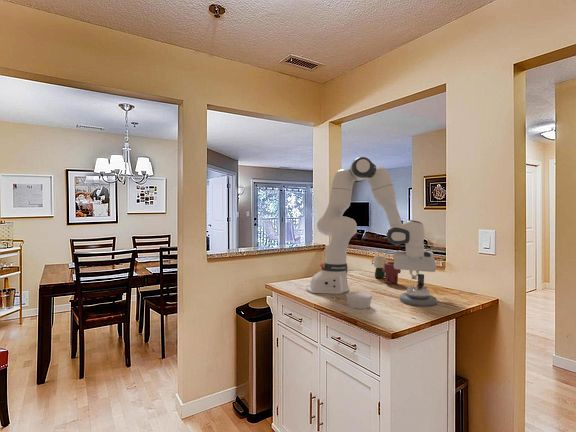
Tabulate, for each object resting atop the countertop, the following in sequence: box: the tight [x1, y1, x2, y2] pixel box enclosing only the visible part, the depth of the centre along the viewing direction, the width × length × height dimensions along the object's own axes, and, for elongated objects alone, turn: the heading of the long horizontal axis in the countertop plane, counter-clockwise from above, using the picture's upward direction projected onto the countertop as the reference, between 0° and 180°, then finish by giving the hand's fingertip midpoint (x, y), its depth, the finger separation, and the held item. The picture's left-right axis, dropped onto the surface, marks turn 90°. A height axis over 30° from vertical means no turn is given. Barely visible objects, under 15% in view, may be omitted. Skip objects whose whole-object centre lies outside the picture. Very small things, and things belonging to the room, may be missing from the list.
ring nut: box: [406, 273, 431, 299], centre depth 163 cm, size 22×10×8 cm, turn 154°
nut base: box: [399, 292, 438, 307], centre depth 158 cm, size 16×16×2 cm
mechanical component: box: [383, 261, 402, 285], centre depth 195 cm, size 12×10×10 cm
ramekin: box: [345, 291, 373, 310], centre depth 149 cm, size 11×11×5 cm
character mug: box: [371, 255, 390, 279], centre depth 209 cm, size 11×7×13 cm, turn 55°
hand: (414, 279), depth 172 cm, fingers closed
